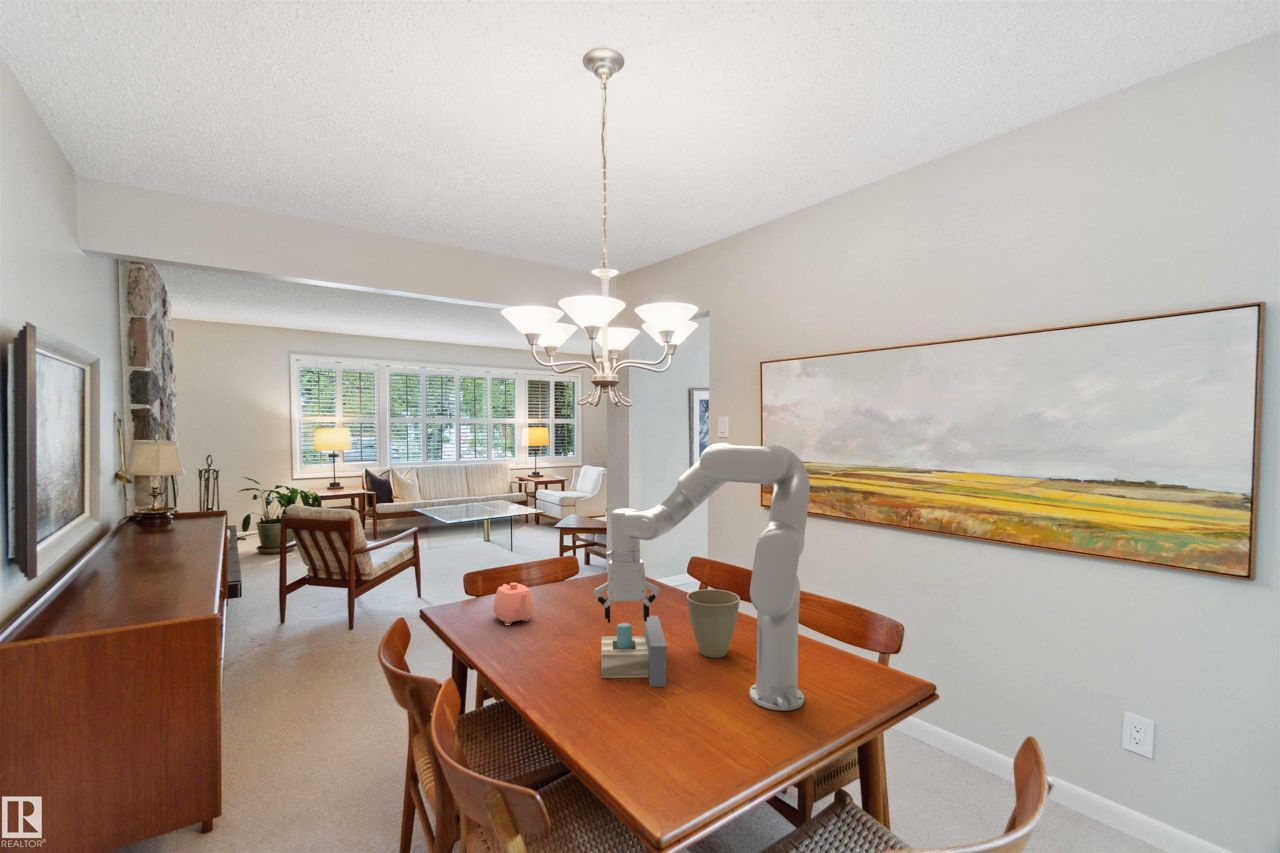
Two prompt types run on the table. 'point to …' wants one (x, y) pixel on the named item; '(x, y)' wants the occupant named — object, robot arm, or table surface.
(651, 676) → the rail
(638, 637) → the socket block
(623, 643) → the dowel
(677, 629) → the table surface
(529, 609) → the teapot
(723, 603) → the plant pot
